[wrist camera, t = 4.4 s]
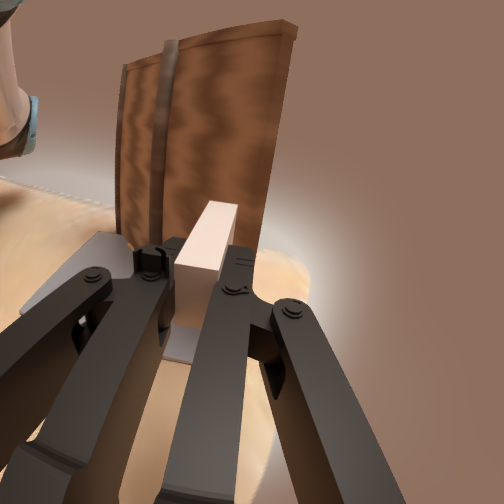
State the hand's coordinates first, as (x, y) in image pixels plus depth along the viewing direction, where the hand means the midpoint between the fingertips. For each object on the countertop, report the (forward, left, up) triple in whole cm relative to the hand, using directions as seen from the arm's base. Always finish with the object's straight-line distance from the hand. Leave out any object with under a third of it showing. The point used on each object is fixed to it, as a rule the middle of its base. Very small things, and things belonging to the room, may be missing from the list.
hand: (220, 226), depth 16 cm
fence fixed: (-13, +18, -13) cm, 26 cm away
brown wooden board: (-2, +8, -13) cm, 15 cm away
